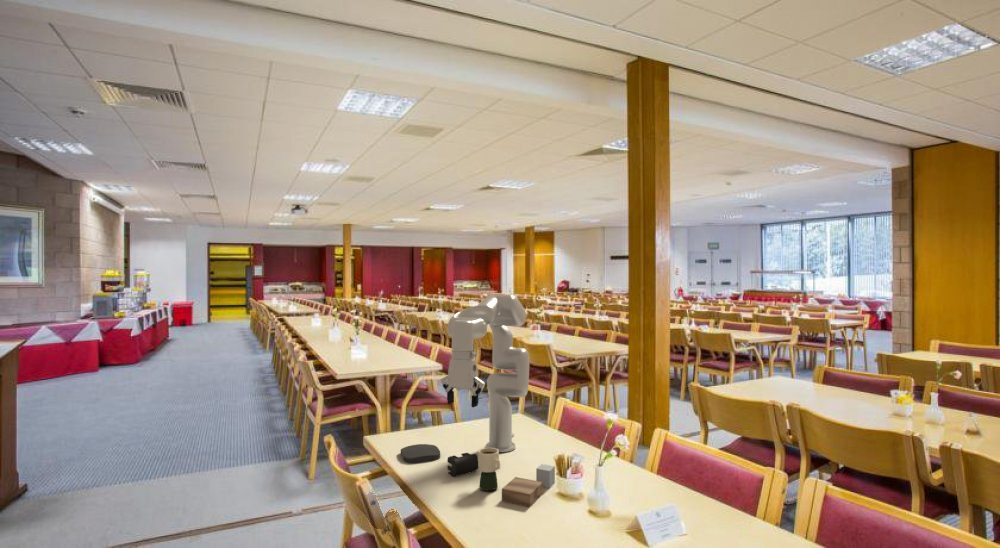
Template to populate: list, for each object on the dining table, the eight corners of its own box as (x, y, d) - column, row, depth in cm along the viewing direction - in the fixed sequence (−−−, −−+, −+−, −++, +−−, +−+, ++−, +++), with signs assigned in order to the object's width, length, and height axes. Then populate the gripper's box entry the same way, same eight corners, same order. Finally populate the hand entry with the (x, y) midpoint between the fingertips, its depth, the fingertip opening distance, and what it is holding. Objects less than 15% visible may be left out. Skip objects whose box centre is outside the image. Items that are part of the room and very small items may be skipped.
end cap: (456, 480, 189) (456, 461, 189) (446, 474, 195) (446, 455, 195) (479, 473, 195) (479, 455, 195) (469, 468, 200) (469, 450, 200)
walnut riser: (515, 488, 181) (515, 476, 181) (542, 493, 177) (542, 482, 177) (501, 501, 171) (501, 488, 171) (530, 507, 167) (530, 494, 167)
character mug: (507, 490, 179) (506, 452, 179) (491, 496, 175) (491, 457, 175) (485, 481, 187) (485, 444, 187) (470, 486, 183) (470, 449, 183)
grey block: (541, 480, 188) (541, 463, 188) (554, 483, 186) (554, 466, 186) (536, 485, 184) (536, 468, 184) (549, 488, 181) (549, 470, 181)
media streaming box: (442, 460, 210) (442, 452, 209) (406, 465, 204) (406, 457, 204) (433, 448, 223) (433, 441, 223) (398, 453, 218) (398, 446, 218)
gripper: (489, 355, 182) (489, 405, 182) (447, 352, 190) (447, 399, 190) (479, 359, 176) (478, 410, 176) (435, 355, 184) (435, 404, 184)
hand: (462, 404), depth 183 cm, fingers open, 9 cm apart
